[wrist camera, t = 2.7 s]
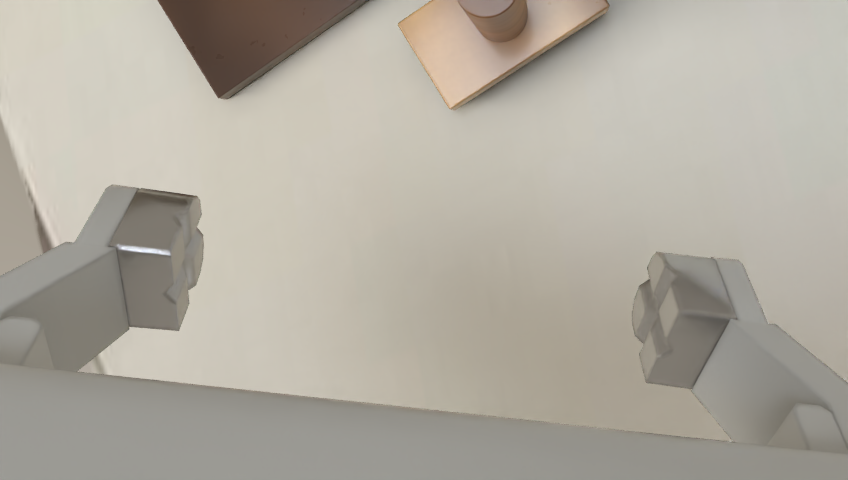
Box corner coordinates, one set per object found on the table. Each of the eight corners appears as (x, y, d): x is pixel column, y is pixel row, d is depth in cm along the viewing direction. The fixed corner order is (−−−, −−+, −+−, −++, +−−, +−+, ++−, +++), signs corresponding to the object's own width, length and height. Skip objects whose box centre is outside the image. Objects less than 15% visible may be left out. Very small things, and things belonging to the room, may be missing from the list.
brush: (555, -70, 40) (553, -143, 30) (606, 15, 40) (623, -29, 30) (407, 31, 42) (357, -5, 31) (457, 111, 42) (423, 102, 31)
